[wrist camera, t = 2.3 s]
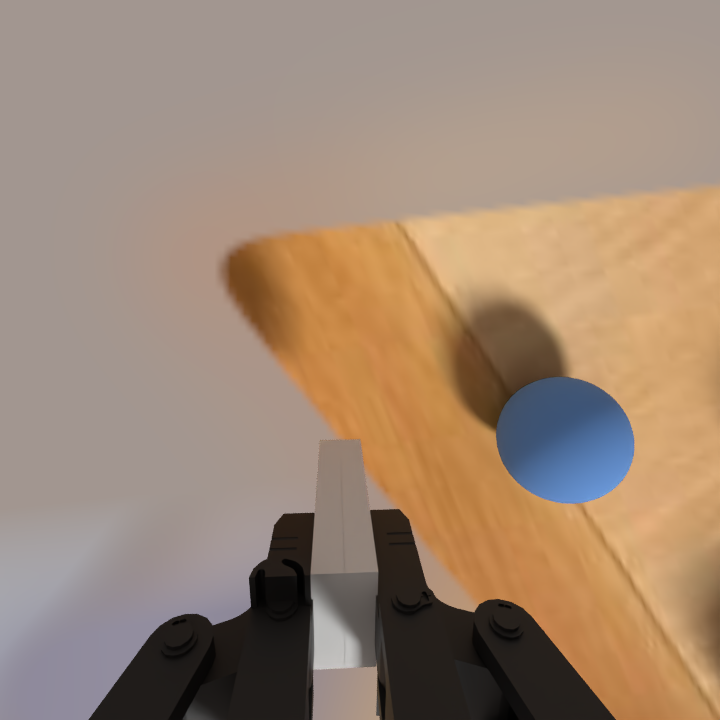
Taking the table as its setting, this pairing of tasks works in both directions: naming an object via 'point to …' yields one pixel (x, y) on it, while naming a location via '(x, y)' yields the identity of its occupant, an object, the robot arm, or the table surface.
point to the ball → (565, 440)
